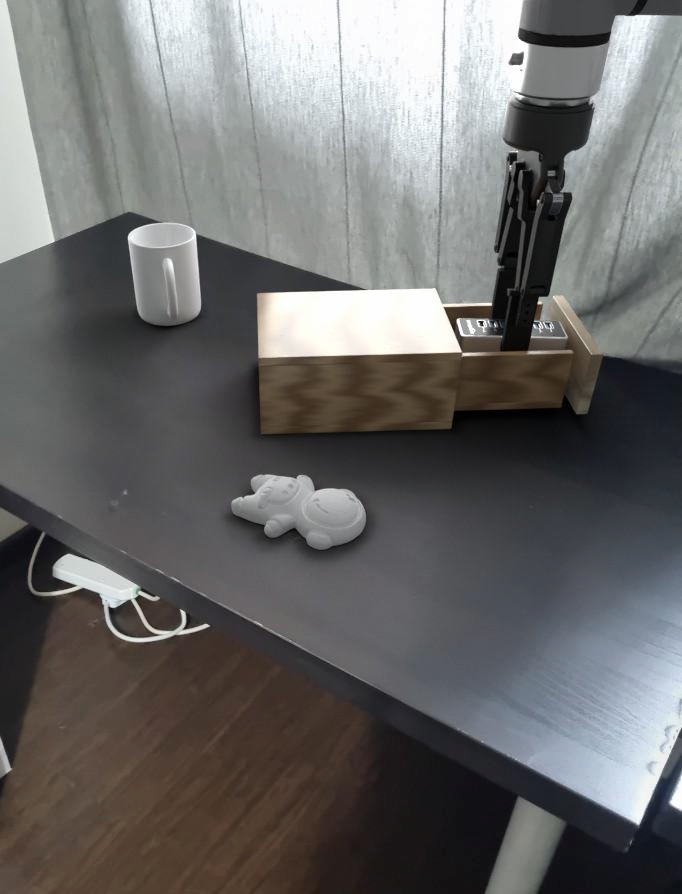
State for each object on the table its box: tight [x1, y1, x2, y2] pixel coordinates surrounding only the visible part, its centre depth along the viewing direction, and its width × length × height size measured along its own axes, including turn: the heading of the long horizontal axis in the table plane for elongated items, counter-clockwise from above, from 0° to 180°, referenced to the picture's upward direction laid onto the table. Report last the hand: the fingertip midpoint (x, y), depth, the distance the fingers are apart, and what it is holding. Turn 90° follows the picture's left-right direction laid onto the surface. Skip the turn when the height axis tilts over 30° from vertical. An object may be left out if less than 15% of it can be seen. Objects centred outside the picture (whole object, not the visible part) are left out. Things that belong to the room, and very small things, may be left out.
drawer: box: [442, 295, 604, 415], centre depth 89 cm, size 20×14×7 cm
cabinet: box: [256, 287, 462, 435], centre depth 88 cm, size 20×15×9 cm
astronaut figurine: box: [230, 473, 367, 551], centre depth 74 cm, size 9×12×3 cm
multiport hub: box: [455, 318, 568, 353], centre depth 87 cm, size 4×11×2 cm, turn 87°
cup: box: [127, 222, 202, 327], centre depth 103 cm, size 8×12×10 cm
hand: (507, 339), depth 87 cm, fingers closed on multiport hub, 5 cm apart
